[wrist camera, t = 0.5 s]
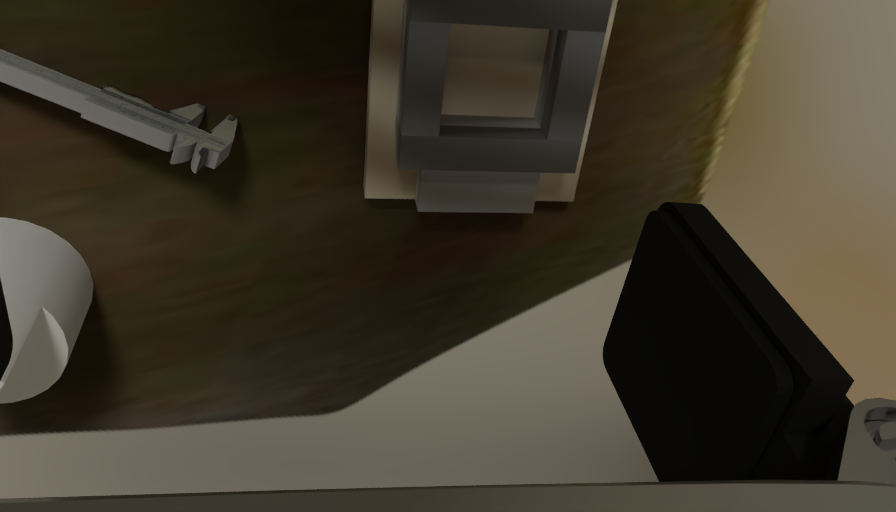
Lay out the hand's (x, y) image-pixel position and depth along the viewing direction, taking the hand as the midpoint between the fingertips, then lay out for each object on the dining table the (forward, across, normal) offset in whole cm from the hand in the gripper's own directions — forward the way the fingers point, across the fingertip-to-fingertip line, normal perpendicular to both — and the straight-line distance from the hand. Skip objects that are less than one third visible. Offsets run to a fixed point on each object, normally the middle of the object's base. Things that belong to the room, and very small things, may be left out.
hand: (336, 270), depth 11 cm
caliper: (+32, +14, +9) cm, 36 cm away
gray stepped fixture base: (+32, -10, +7) cm, 34 cm away
